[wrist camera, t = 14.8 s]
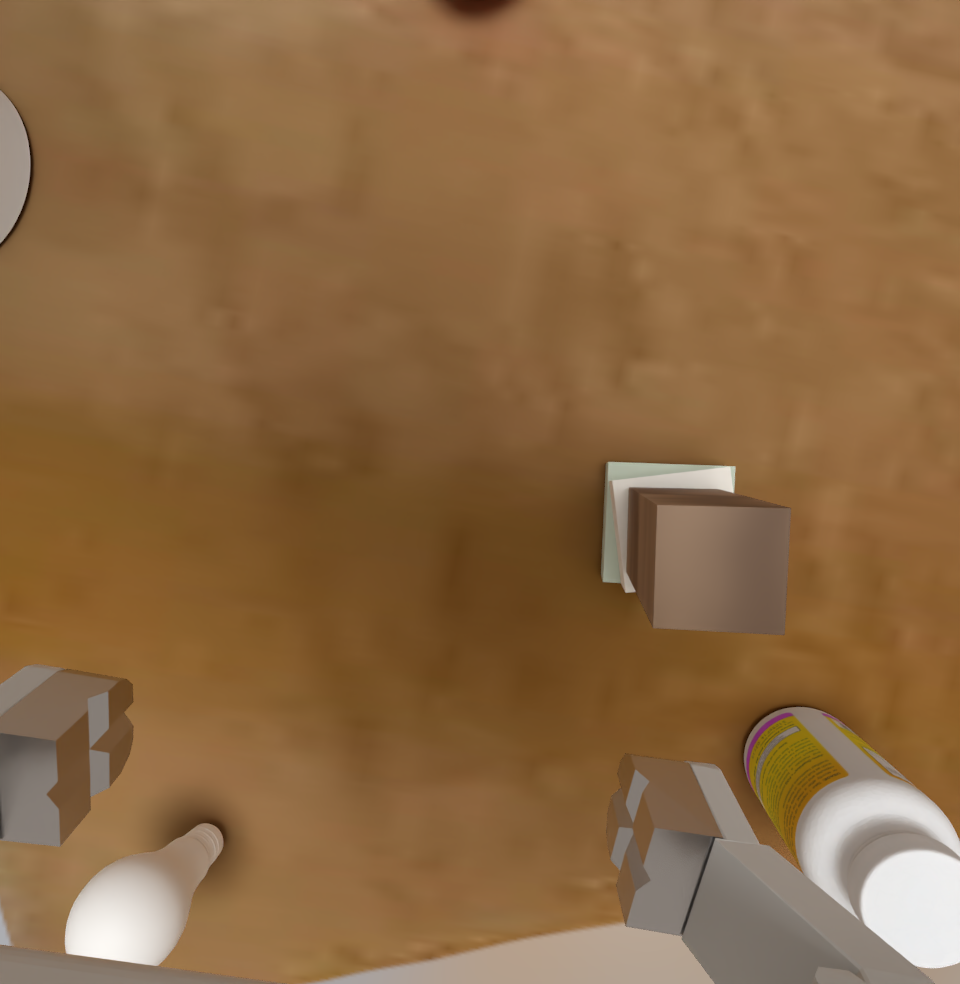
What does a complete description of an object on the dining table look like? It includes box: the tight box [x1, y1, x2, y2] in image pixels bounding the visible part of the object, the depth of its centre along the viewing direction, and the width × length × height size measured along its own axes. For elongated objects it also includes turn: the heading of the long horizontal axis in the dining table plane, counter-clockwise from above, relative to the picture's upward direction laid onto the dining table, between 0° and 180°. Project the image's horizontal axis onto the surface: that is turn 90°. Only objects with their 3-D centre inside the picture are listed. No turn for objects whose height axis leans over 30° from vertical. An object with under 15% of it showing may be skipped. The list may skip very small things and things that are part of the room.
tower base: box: [601, 462, 735, 583], centre depth 36 cm, size 7×7×3 cm
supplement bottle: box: [744, 707, 960, 968], centre depth 29 cm, size 7×7×13 cm
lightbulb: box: [65, 823, 223, 966], centre depth 36 cm, size 6×6×11 cm
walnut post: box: [626, 487, 791, 635], centre depth 26 cm, size 4×4×10 cm
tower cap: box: [609, 467, 733, 593], centre depth 33 cm, size 6×6×3 cm
